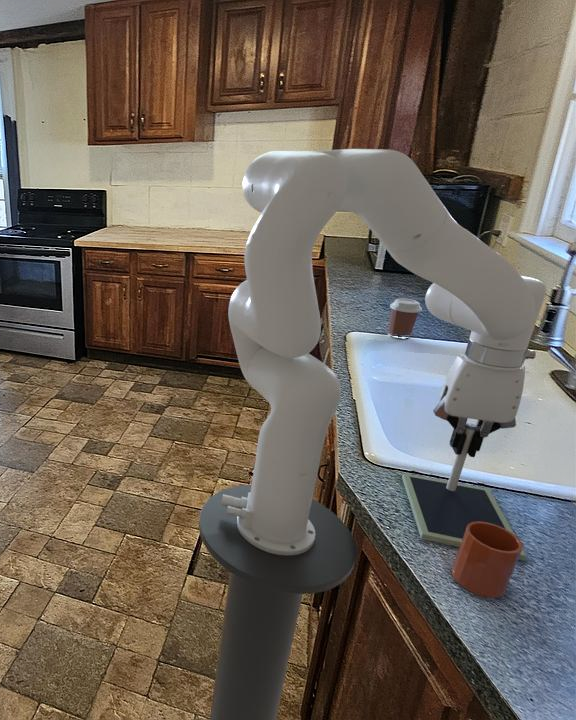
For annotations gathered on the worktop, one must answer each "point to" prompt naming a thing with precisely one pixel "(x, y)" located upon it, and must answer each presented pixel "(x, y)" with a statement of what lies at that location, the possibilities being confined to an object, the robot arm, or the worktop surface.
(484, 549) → the pen cup
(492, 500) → the tablet
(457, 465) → the stylus
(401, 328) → the coffee cup
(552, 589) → the worktop surface
